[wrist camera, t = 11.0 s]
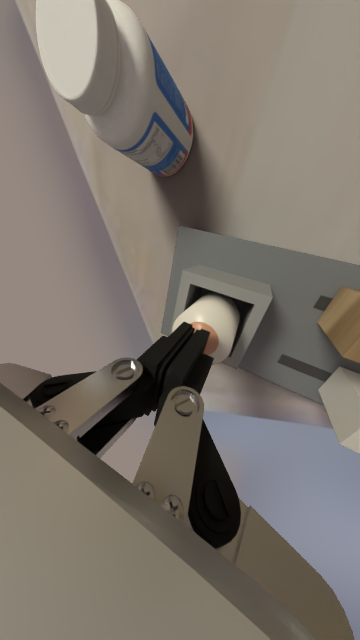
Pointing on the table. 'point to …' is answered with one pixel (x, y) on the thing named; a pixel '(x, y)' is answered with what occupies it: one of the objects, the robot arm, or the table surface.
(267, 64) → the table surface
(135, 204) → the table surface
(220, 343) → the button ivory
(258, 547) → the robot arm
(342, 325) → the lever oak
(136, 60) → the pill bottle
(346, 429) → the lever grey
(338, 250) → the table surface
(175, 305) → the panel
